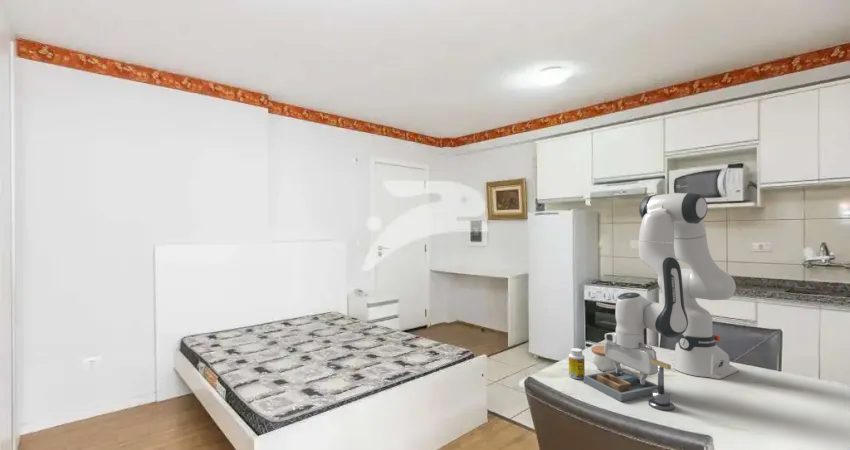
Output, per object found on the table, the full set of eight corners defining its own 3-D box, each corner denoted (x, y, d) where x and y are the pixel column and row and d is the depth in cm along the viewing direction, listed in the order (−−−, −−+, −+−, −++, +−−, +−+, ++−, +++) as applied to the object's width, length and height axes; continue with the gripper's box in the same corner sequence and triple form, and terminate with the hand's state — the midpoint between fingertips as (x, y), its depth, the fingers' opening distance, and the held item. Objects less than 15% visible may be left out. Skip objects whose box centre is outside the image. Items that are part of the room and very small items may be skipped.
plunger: (643, 402, 130) (642, 360, 130) (659, 399, 132) (659, 357, 132) (662, 412, 123) (662, 367, 123) (679, 408, 126) (679, 364, 125)
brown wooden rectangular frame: (646, 389, 139) (645, 380, 139) (619, 394, 135) (618, 385, 135) (622, 378, 148) (622, 370, 148) (596, 383, 144) (596, 375, 144)
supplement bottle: (578, 380, 148) (578, 352, 148) (565, 376, 153) (565, 349, 153) (587, 377, 151) (587, 350, 151) (575, 373, 156) (574, 346, 156)
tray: (620, 375, 152) (620, 369, 152) (660, 393, 136) (660, 386, 136) (583, 382, 147) (583, 375, 146) (621, 402, 131) (621, 394, 131)
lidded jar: (623, 367, 161) (622, 343, 161) (619, 376, 152) (619, 351, 152) (594, 362, 167) (594, 339, 167) (589, 371, 158) (588, 346, 158)
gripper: (662, 346, 134) (663, 388, 134) (614, 331, 153) (614, 368, 153) (648, 349, 132) (648, 391, 132) (601, 333, 151) (601, 370, 151)
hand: (630, 378), depth 143 cm, fingers open, 8 cm apart
